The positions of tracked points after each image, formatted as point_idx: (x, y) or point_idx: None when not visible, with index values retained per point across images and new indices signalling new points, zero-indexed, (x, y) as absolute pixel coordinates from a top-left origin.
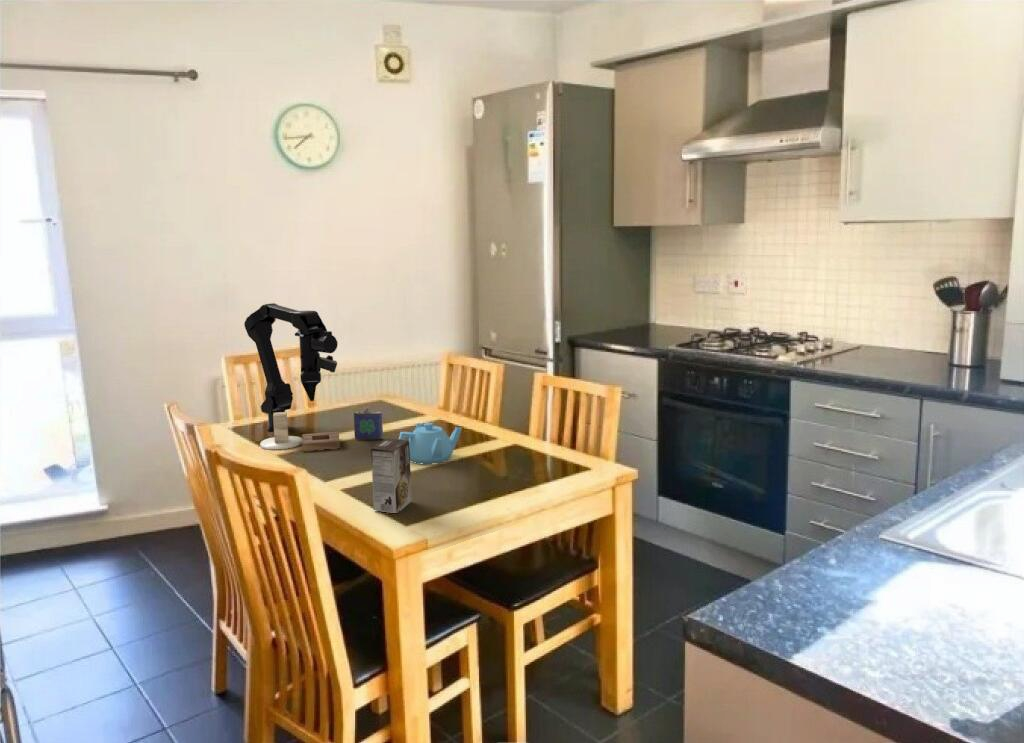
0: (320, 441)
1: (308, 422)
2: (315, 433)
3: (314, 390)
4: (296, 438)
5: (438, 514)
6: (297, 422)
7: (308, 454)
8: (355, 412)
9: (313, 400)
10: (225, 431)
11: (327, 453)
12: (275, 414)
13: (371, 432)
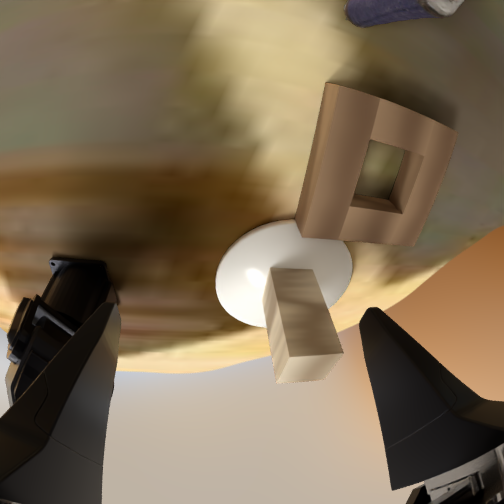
0: (428, 192)
1: (15, 192)
2: (317, 188)
3: (443, 374)
4: (270, 244)
5: None
6: (17, 227)
7: (429, 220)
8: (449, 12)
9: (378, 310)
10: None
11: (452, 172)
12: (307, 377)
13: None
